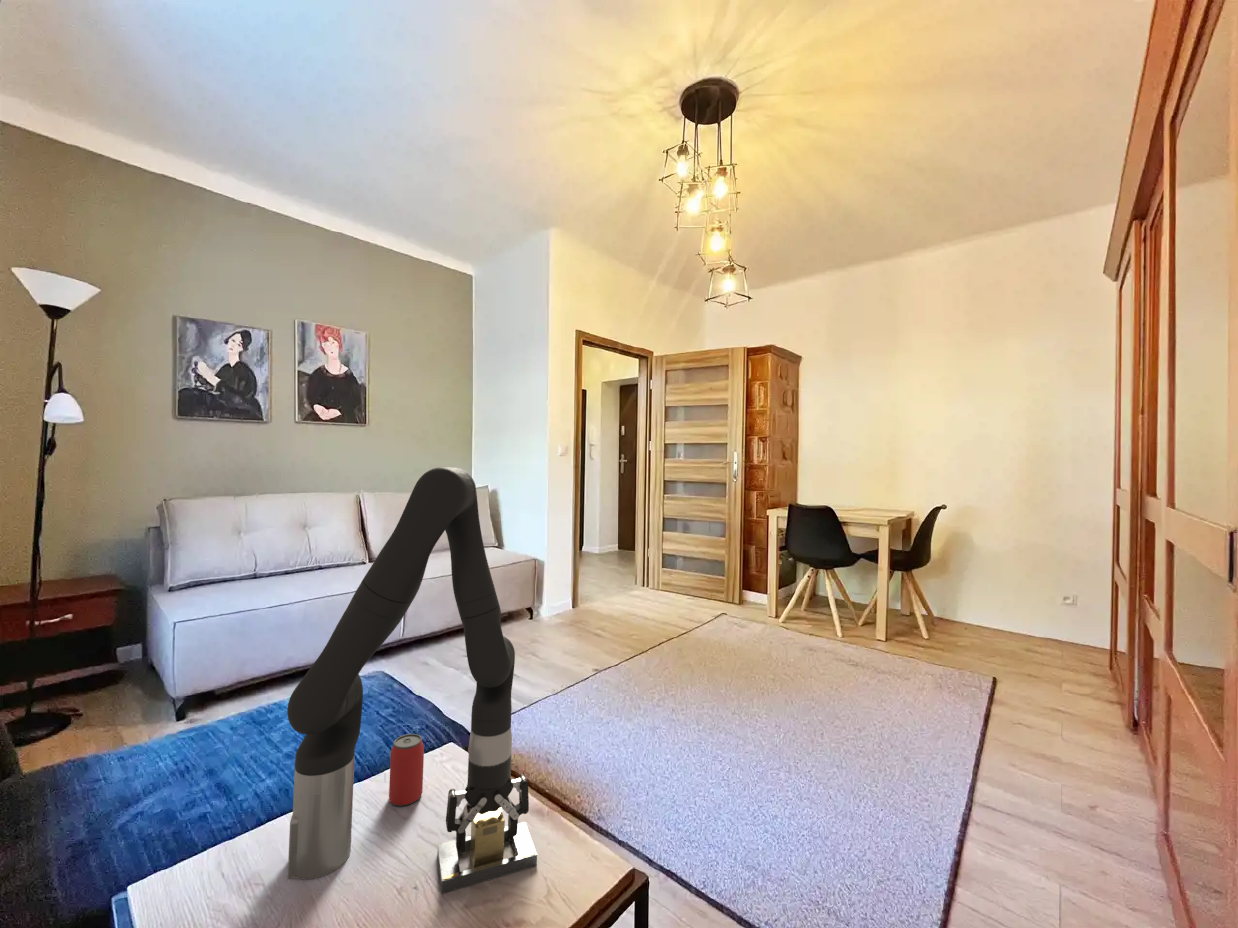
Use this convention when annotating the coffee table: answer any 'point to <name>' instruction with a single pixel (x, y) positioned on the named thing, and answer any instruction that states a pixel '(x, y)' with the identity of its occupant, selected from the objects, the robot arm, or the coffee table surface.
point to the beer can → (406, 770)
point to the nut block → (487, 838)
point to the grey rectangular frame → (456, 879)
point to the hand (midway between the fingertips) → (487, 843)
